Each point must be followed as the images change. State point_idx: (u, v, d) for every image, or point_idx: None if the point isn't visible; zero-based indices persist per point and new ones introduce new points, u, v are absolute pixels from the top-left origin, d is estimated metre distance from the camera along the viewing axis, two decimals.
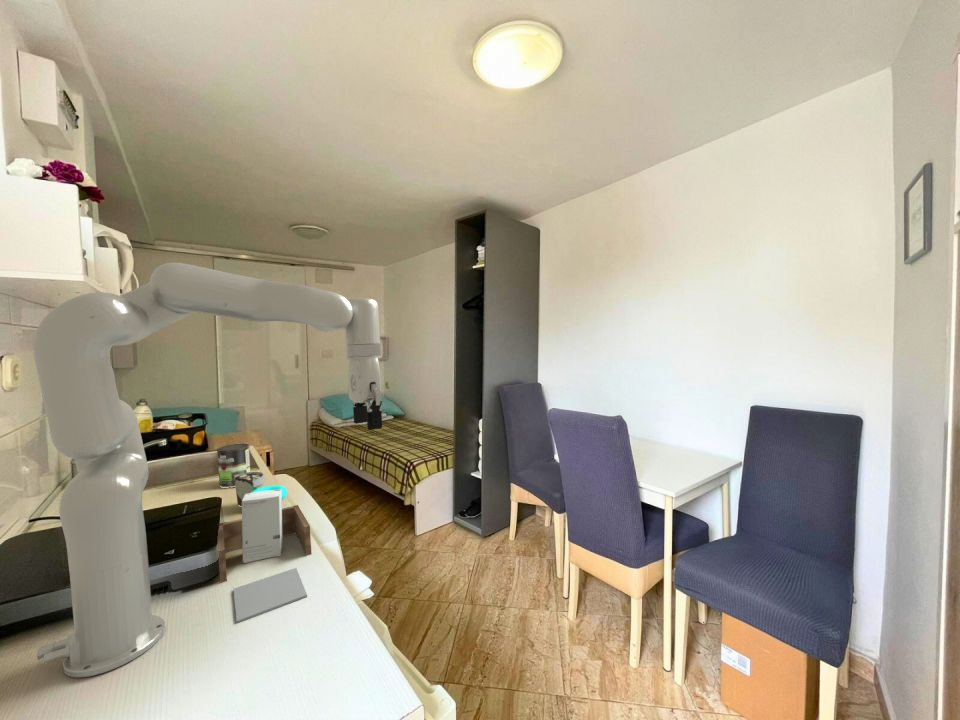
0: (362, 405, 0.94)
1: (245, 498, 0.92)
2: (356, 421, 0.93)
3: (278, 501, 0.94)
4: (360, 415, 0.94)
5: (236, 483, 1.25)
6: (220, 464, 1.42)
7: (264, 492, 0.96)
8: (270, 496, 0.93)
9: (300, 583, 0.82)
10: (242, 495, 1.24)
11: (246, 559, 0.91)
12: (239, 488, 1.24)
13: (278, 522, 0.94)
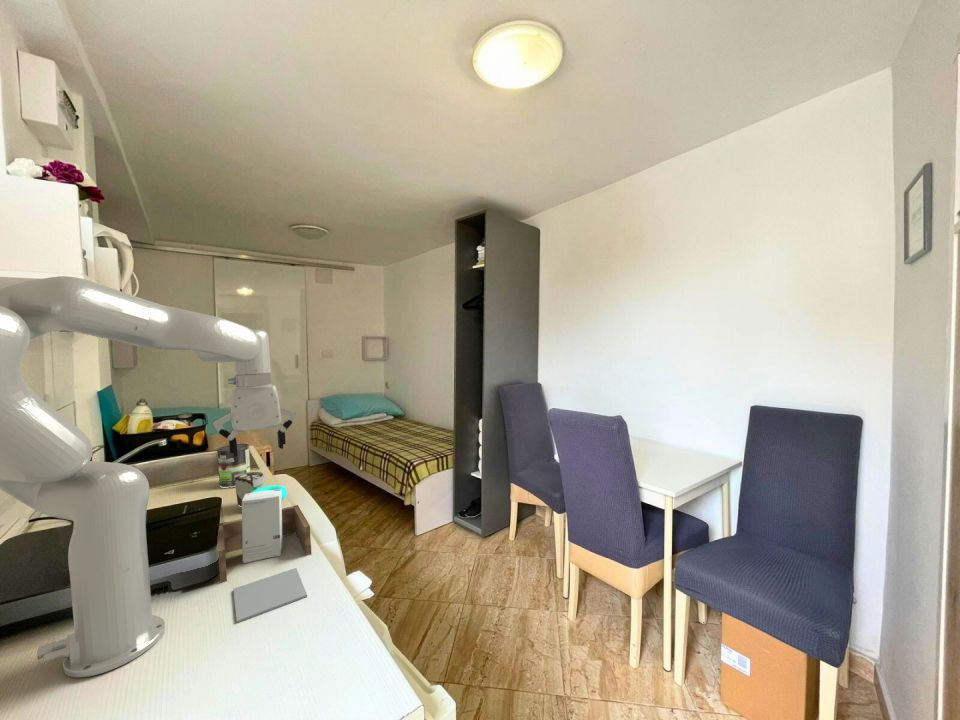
0: (234, 437, 0.92)
1: (245, 498, 0.92)
2: (237, 454, 0.91)
3: (278, 501, 0.94)
4: None
5: (236, 483, 1.25)
6: (220, 464, 1.42)
7: (264, 492, 0.96)
8: (270, 496, 0.93)
9: (300, 583, 0.82)
10: (242, 495, 1.24)
11: (246, 559, 0.91)
12: (239, 488, 1.24)
13: (278, 522, 0.94)
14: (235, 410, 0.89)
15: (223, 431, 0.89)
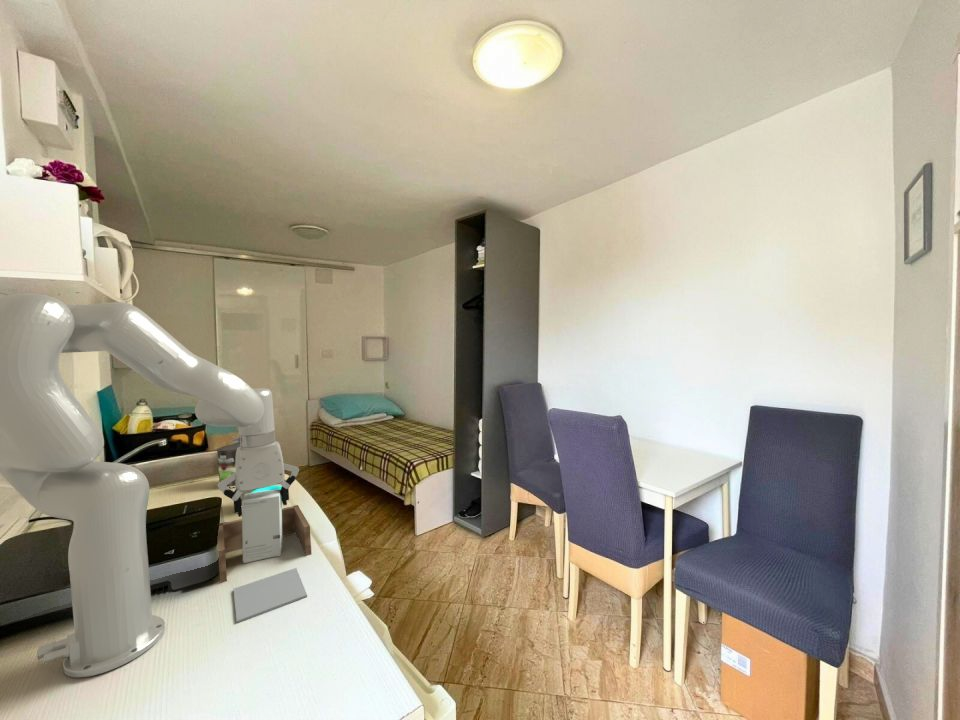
0: None
1: (245, 498, 0.92)
2: (241, 513, 0.91)
3: (278, 501, 0.94)
4: None
5: None
6: (220, 464, 1.42)
7: (264, 492, 0.96)
8: (270, 496, 0.93)
9: (300, 583, 0.82)
10: (242, 495, 1.24)
11: (246, 559, 0.91)
12: None
13: (278, 522, 0.94)
14: (239, 471, 0.90)
15: (228, 492, 0.90)
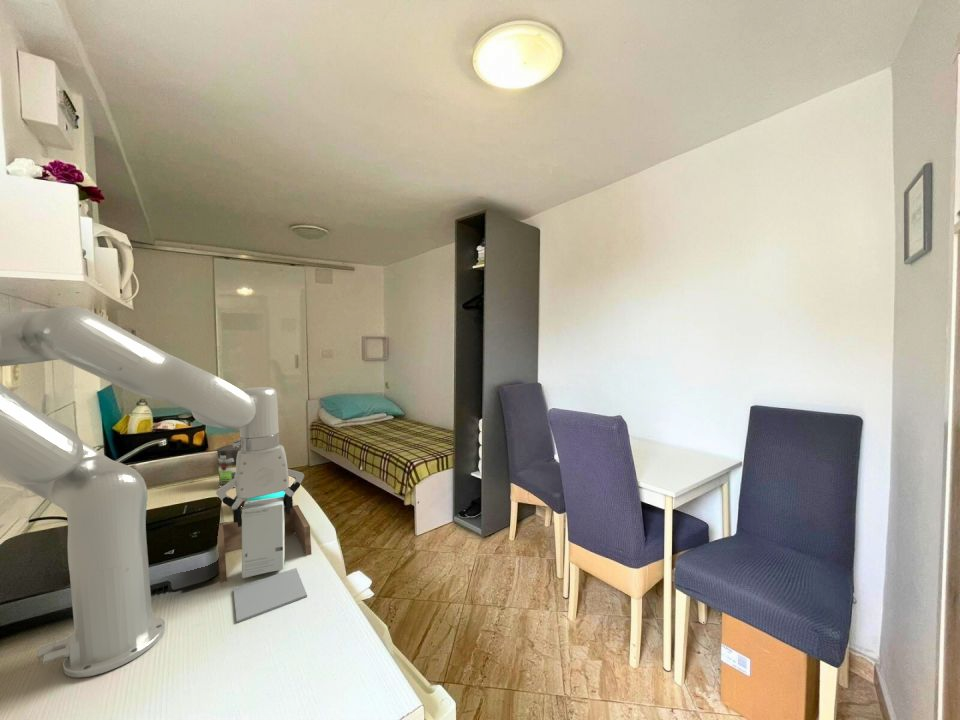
0: None
1: (245, 506, 0.85)
2: (241, 523, 0.84)
3: (281, 510, 0.86)
4: None
5: None
6: (220, 464, 1.42)
7: (266, 500, 0.88)
8: (273, 504, 0.86)
9: (300, 583, 0.82)
10: None
11: (245, 574, 0.83)
12: None
13: (281, 533, 0.86)
14: (240, 477, 0.82)
15: (227, 500, 0.82)
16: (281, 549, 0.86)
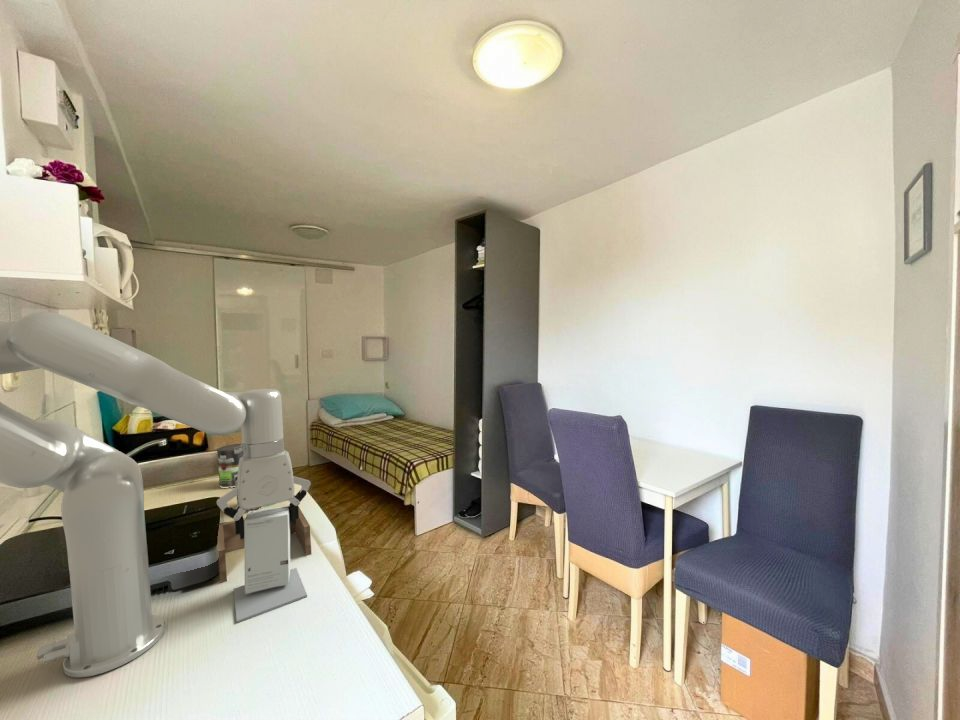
0: (241, 515, 0.79)
1: (248, 517, 0.79)
2: None
3: (287, 520, 0.80)
4: None
5: (236, 483, 1.25)
6: (220, 464, 1.42)
7: (270, 510, 0.82)
8: (277, 515, 0.80)
9: (300, 583, 0.82)
10: None
11: (249, 589, 0.78)
12: None
13: (286, 545, 0.80)
14: (242, 486, 0.77)
15: (228, 510, 0.77)
16: (286, 562, 0.80)
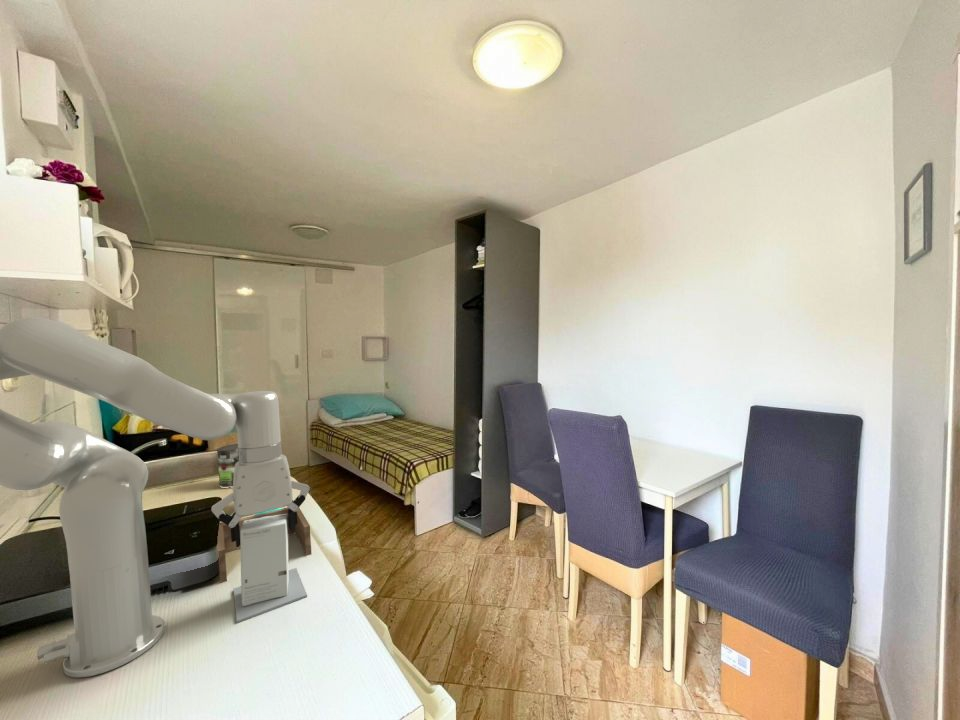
0: (237, 521, 0.76)
1: (244, 527, 0.76)
2: None
3: (284, 530, 0.78)
4: None
5: None
6: (220, 464, 1.42)
7: (267, 519, 0.79)
8: (275, 524, 0.77)
9: (300, 583, 0.82)
10: None
11: (246, 601, 0.75)
12: None
13: (284, 555, 0.78)
14: (238, 492, 0.74)
15: (223, 517, 0.74)
16: (285, 573, 0.78)
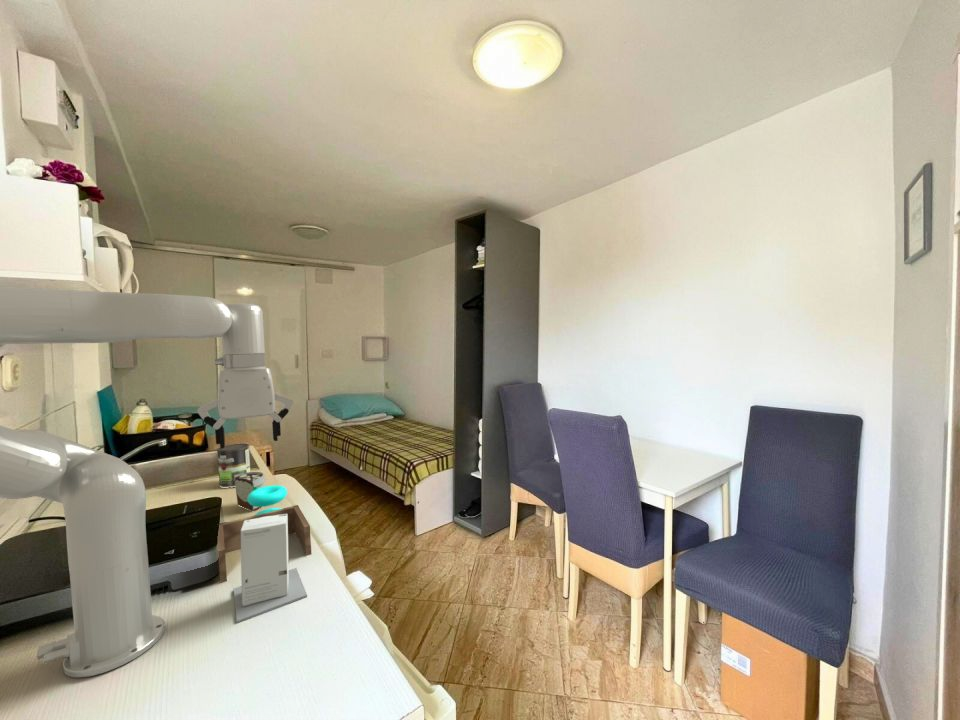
0: (222, 426, 0.80)
1: (245, 527, 0.76)
2: (224, 445, 0.79)
3: (285, 529, 0.78)
4: (224, 438, 0.80)
5: (236, 483, 1.25)
6: (220, 464, 1.42)
7: (267, 519, 0.79)
8: (275, 524, 0.77)
9: (300, 583, 0.82)
10: (242, 495, 1.24)
11: (246, 601, 0.75)
12: (239, 488, 1.24)
13: (285, 555, 0.78)
14: (222, 395, 0.77)
15: (208, 419, 0.78)
16: (285, 573, 0.78)
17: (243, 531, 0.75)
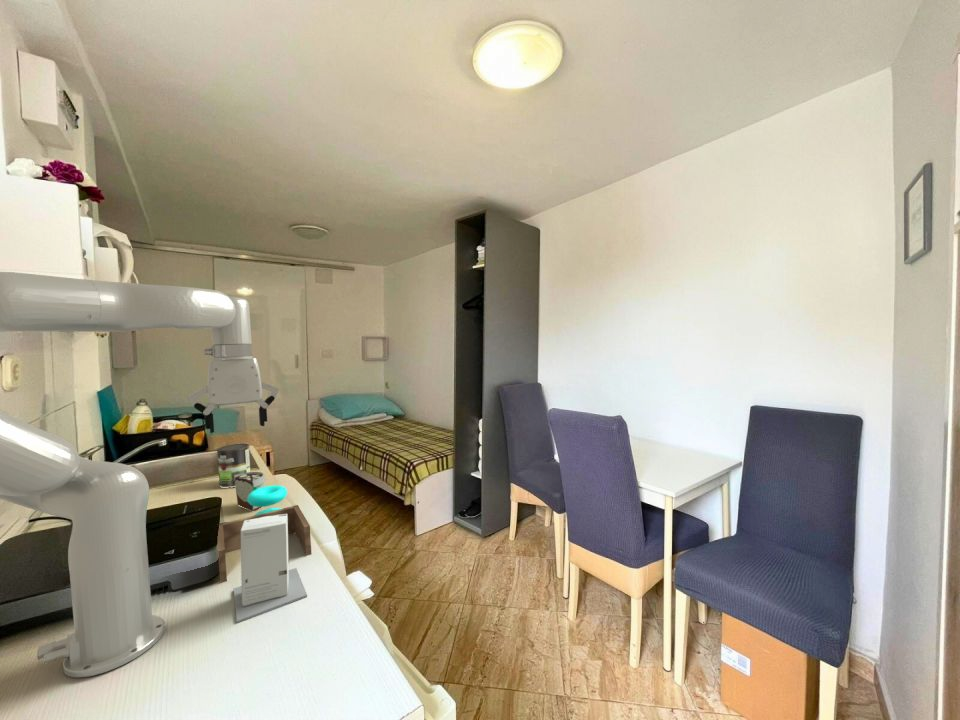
0: (211, 412, 0.85)
1: (245, 527, 0.76)
2: None
3: (285, 529, 0.78)
4: None
5: (236, 483, 1.25)
6: (220, 464, 1.42)
7: (267, 519, 0.79)
8: (275, 524, 0.77)
9: (300, 583, 0.82)
10: (242, 495, 1.24)
11: (246, 601, 0.75)
12: (239, 488, 1.24)
13: (285, 555, 0.78)
14: (211, 382, 0.83)
15: (198, 405, 0.83)
16: (285, 573, 0.78)
17: (243, 531, 0.75)
